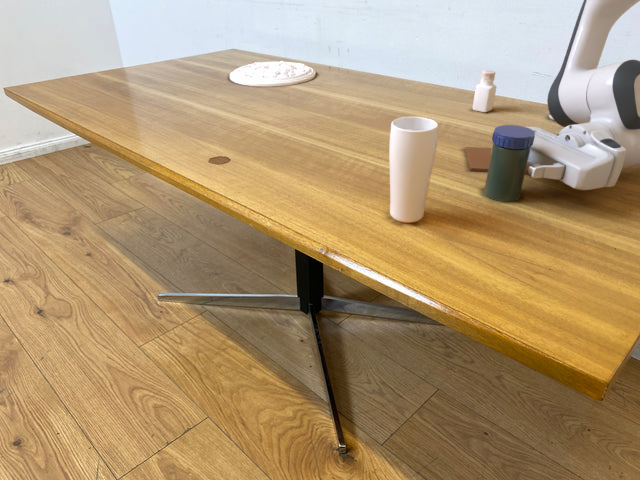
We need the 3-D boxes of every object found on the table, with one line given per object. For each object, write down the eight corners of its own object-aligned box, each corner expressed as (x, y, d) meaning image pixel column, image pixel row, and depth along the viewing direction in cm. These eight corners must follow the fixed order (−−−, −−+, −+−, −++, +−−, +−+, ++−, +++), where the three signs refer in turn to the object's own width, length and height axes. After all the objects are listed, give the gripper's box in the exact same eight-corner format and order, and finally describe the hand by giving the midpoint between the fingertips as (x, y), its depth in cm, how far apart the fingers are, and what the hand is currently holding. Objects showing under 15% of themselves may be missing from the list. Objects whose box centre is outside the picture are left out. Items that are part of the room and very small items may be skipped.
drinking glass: (428, 228, 73) (439, 132, 65) (383, 225, 74) (389, 130, 66) (427, 207, 79) (438, 117, 71) (386, 204, 80) (391, 115, 72)
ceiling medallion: (323, 67, 167) (323, 58, 166) (303, 88, 144) (302, 77, 143) (247, 64, 173) (246, 55, 171) (216, 84, 150) (214, 73, 148)
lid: (528, 136, 80) (531, 125, 79) (536, 150, 75) (539, 138, 74) (489, 135, 81) (491, 124, 80) (494, 148, 76) (496, 136, 75)
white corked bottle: (493, 109, 123) (500, 71, 118) (485, 113, 121) (492, 74, 116) (479, 106, 126) (485, 68, 121) (471, 110, 123) (477, 71, 118)
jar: (516, 187, 85) (529, 128, 79) (522, 202, 80) (536, 141, 74) (482, 185, 85) (492, 127, 80) (486, 200, 81) (497, 139, 75)
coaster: (520, 152, 99) (521, 149, 98) (531, 174, 89) (532, 171, 89) (465, 149, 100) (465, 146, 100) (470, 170, 91) (470, 167, 91)
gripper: (542, 114, 89) (477, 123, 86) (635, 152, 73) (560, 165, 69) (534, 147, 93) (472, 157, 89) (622, 190, 76) (550, 205, 72)
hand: (511, 161), depth 79 cm, fingers open, 8 cm apart
